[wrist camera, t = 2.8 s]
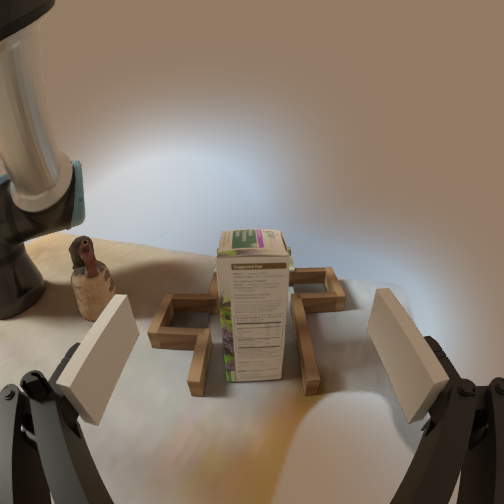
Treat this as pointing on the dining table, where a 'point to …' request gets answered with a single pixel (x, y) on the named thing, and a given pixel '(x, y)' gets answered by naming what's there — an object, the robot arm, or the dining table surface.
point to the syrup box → (253, 302)
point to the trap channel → (202, 305)
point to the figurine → (90, 280)
